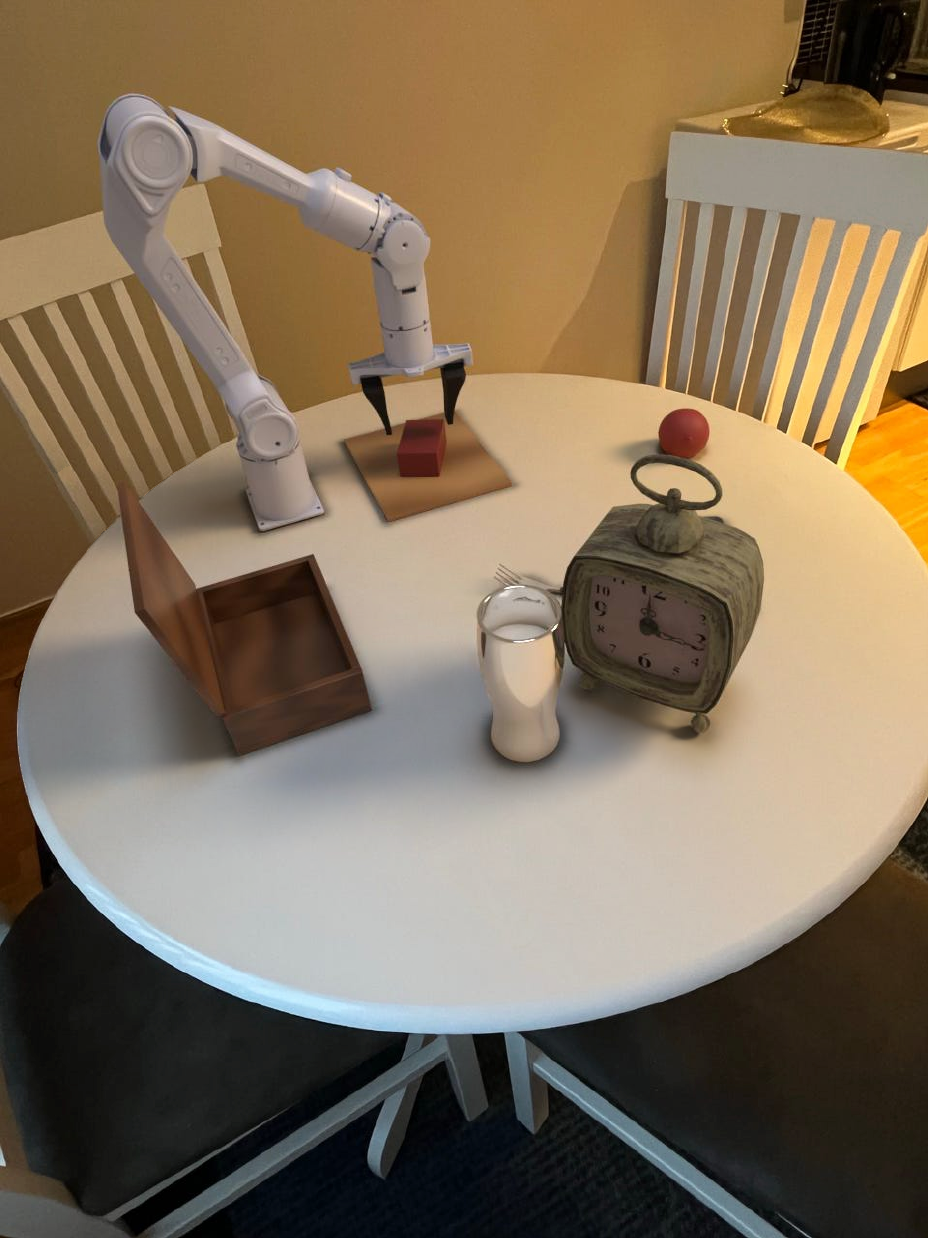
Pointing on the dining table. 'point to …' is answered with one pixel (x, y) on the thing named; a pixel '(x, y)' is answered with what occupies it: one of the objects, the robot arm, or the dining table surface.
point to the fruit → (684, 433)
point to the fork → (524, 581)
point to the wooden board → (404, 496)
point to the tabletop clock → (663, 599)
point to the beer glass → (522, 668)
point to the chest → (280, 654)
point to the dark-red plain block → (422, 448)
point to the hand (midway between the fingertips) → (418, 425)
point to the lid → (167, 599)
